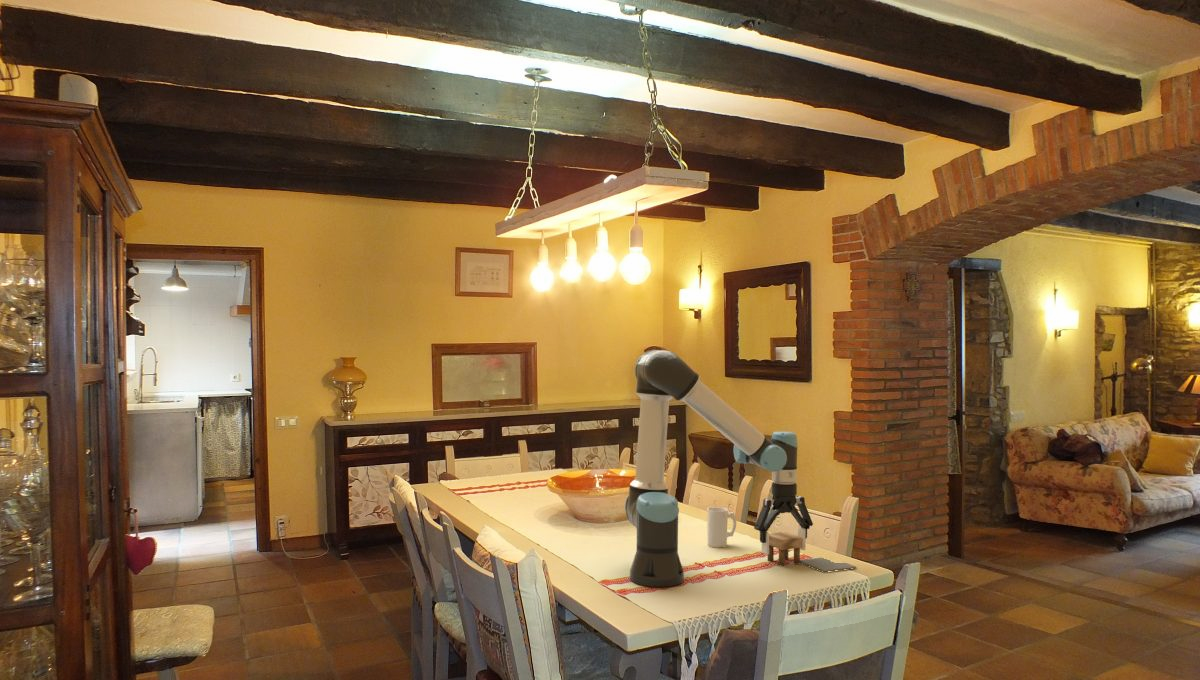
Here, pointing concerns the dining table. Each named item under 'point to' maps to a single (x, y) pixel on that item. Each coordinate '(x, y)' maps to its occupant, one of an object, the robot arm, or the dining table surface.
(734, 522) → the mug
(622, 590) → the dining table surface
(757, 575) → the dining table surface
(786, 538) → the stool
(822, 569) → the mat
